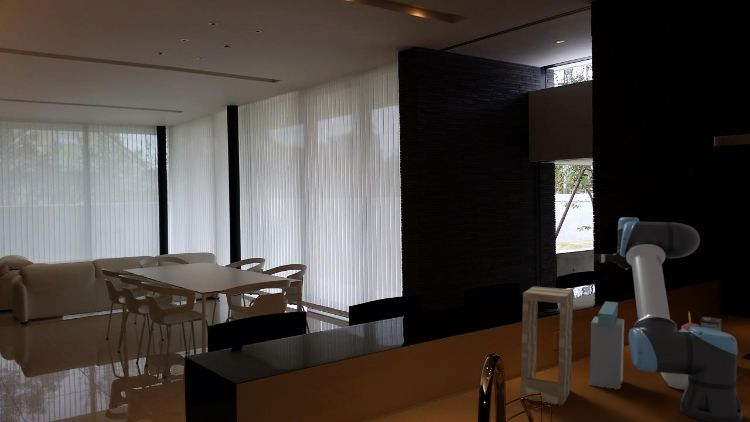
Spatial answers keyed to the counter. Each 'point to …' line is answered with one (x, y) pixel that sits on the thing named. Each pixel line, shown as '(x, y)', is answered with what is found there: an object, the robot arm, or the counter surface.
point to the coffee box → (711, 323)
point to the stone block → (607, 354)
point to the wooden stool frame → (529, 383)
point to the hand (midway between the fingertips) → (623, 259)
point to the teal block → (608, 314)
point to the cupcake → (688, 324)
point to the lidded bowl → (676, 380)
